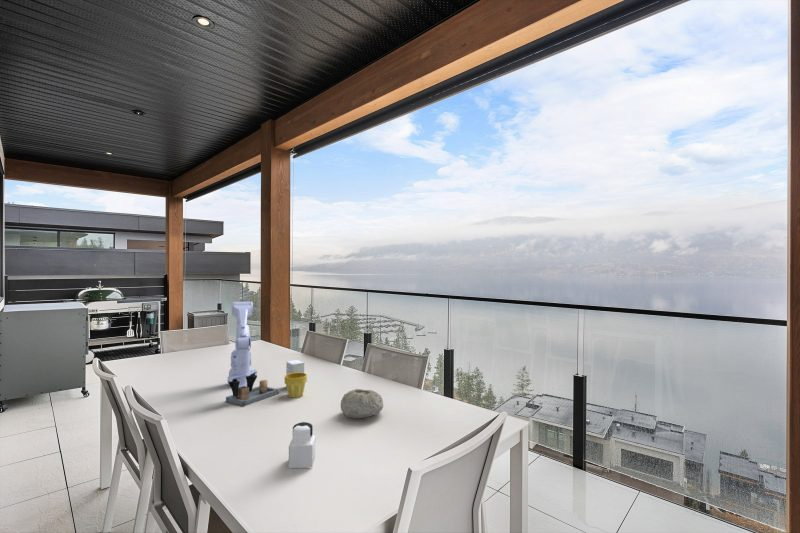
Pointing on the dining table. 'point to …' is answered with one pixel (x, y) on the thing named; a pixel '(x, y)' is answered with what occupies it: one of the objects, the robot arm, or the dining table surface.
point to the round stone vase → (361, 403)
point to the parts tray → (253, 396)
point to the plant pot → (295, 384)
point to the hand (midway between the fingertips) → (242, 393)
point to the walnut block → (243, 393)
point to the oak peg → (263, 387)
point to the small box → (294, 367)
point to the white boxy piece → (302, 446)
